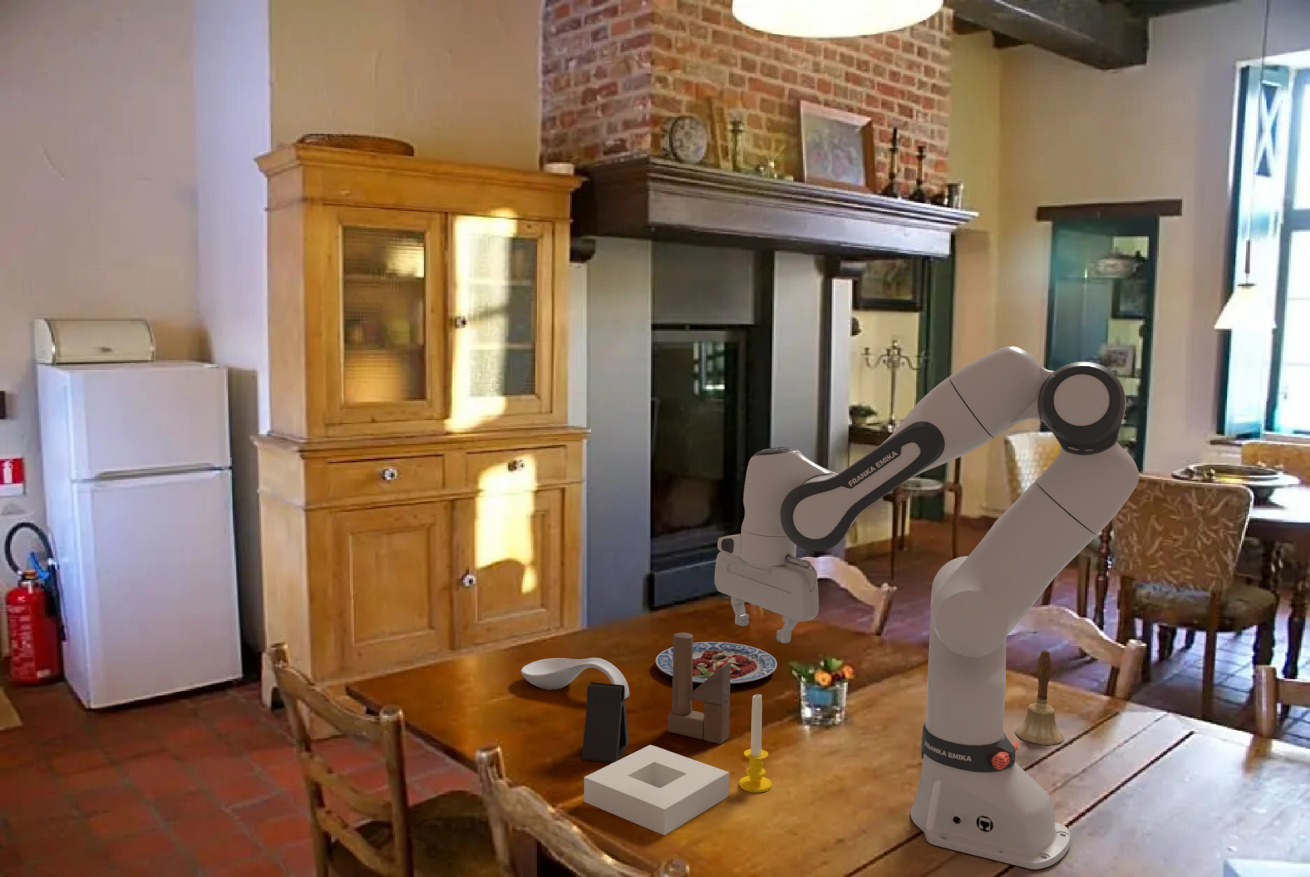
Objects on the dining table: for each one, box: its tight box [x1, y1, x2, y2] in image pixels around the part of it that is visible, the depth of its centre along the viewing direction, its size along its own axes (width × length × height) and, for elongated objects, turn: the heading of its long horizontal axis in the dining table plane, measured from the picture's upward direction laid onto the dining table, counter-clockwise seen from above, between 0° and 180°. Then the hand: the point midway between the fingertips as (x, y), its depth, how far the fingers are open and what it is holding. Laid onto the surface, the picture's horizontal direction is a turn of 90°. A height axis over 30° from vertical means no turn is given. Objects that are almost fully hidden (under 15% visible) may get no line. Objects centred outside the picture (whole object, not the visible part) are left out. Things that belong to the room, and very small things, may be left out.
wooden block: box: [667, 632, 731, 745], centre depth 184 cm, size 4×11×18 cm, turn 61°
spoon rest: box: [520, 657, 630, 700], centre depth 207 cm, size 24×12×7 cm, turn 60°
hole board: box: [583, 744, 730, 836], centre depth 160 cm, size 16×16×4 cm
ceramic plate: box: [655, 641, 778, 685], centre depth 220 cm, size 26×26×3 cm
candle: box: [738, 692, 773, 794], centre depth 165 cm, size 5×5×16 cm
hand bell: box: [1014, 649, 1065, 746], centre depth 186 cm, size 8×8×16 cm
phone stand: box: [581, 681, 630, 764], centre depth 177 cm, size 9×6×12 cm, turn 167°
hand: (762, 633), depth 165 cm, fingers open, 8 cm apart
